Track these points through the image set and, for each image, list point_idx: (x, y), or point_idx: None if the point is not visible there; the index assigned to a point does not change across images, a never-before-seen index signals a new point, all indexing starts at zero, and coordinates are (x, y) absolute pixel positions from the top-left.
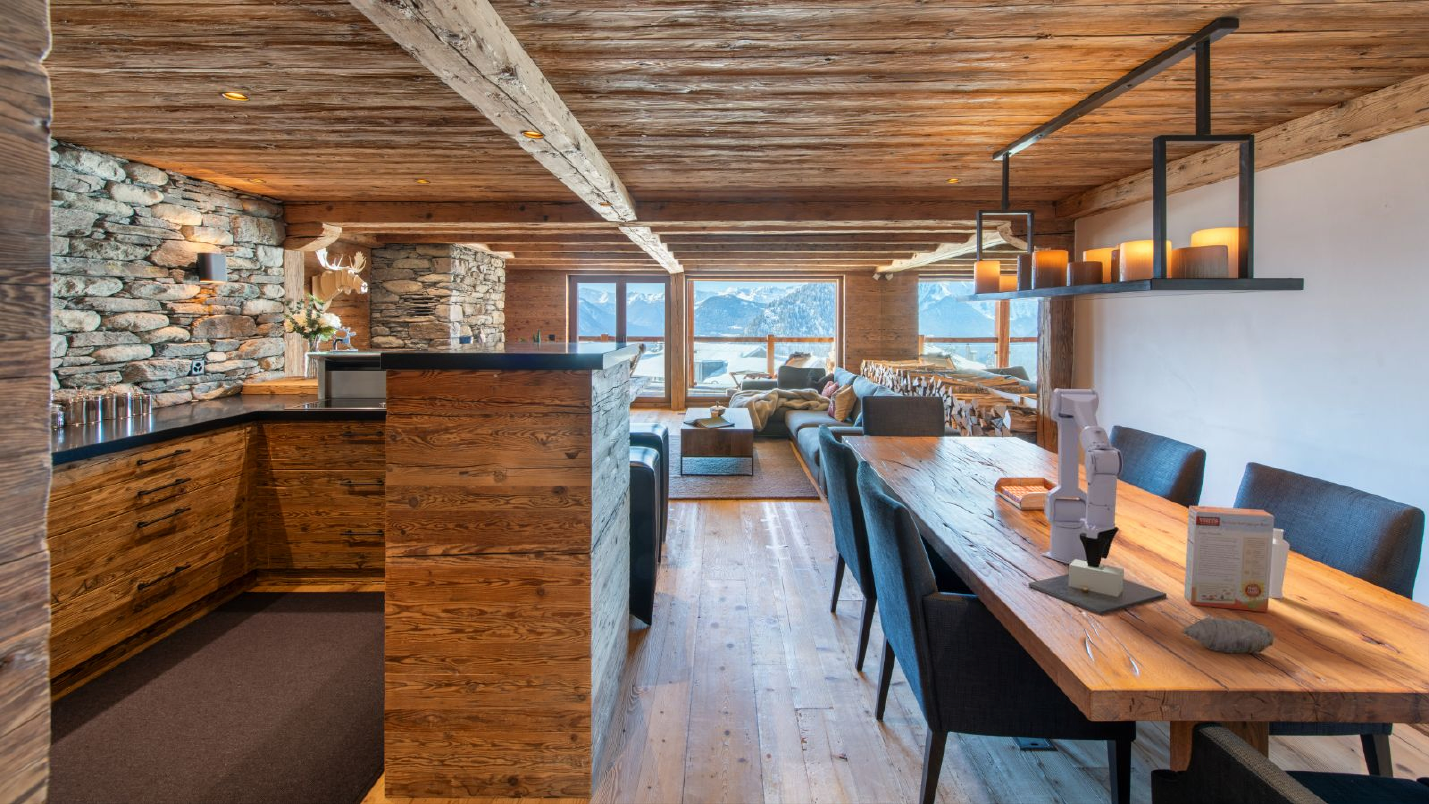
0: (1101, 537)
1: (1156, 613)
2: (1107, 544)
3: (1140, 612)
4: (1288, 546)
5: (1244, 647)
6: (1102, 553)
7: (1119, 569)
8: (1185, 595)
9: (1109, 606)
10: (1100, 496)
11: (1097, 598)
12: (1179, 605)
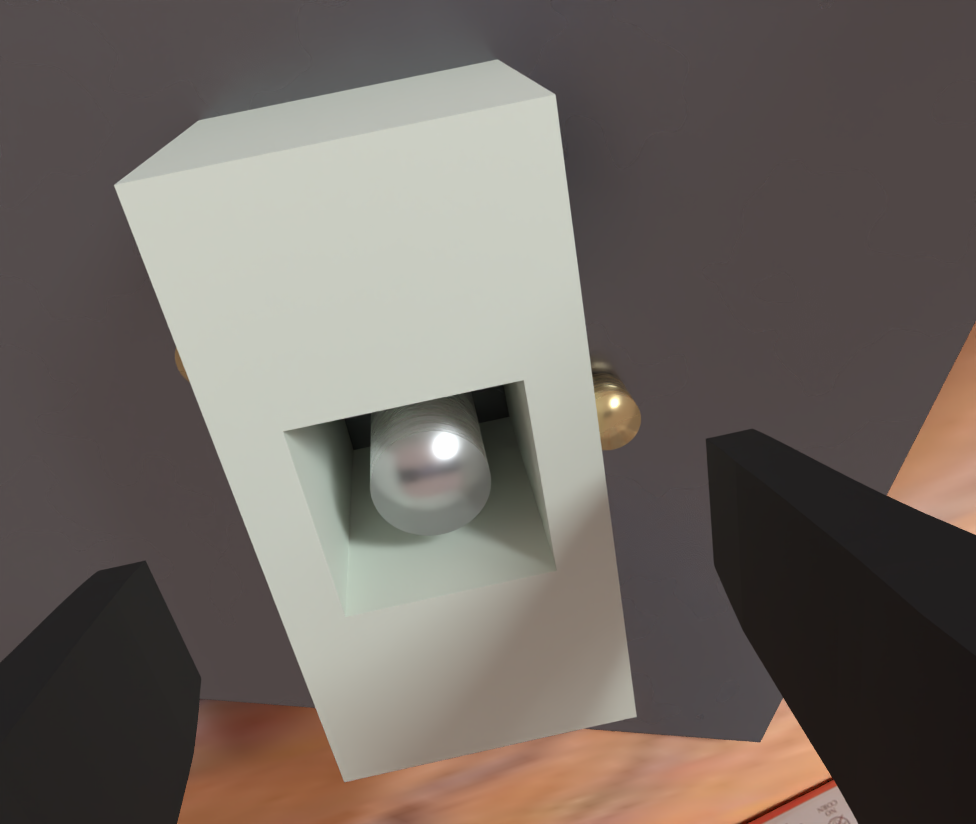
0: (948, 808)
1: (332, 810)
2: (853, 772)
3: (245, 757)
4: None
5: None
6: (746, 566)
7: (563, 704)
8: (828, 798)
9: None
10: None
11: (121, 514)
12: (632, 814)
